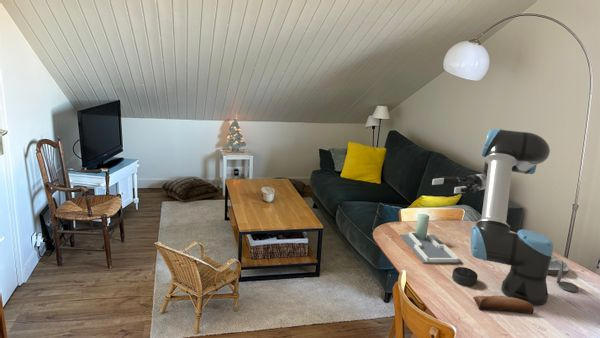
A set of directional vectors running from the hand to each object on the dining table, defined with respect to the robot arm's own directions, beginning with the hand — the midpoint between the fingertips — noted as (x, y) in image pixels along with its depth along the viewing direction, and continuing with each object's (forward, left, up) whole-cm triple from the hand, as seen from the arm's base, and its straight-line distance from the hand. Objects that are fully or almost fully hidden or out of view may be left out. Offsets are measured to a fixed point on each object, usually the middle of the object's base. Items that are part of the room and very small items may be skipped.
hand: (443, 186), depth 201 cm
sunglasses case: (-58, +2, -26) cm, 64 cm away
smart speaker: (-41, +7, -25) cm, 49 cm away
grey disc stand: (-46, -31, -25) cm, 61 cm away
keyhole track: (-13, +9, -25) cm, 30 cm away
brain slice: (-29, -33, -25) cm, 51 cm away
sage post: (-3, +9, -24) cm, 26 cm away
